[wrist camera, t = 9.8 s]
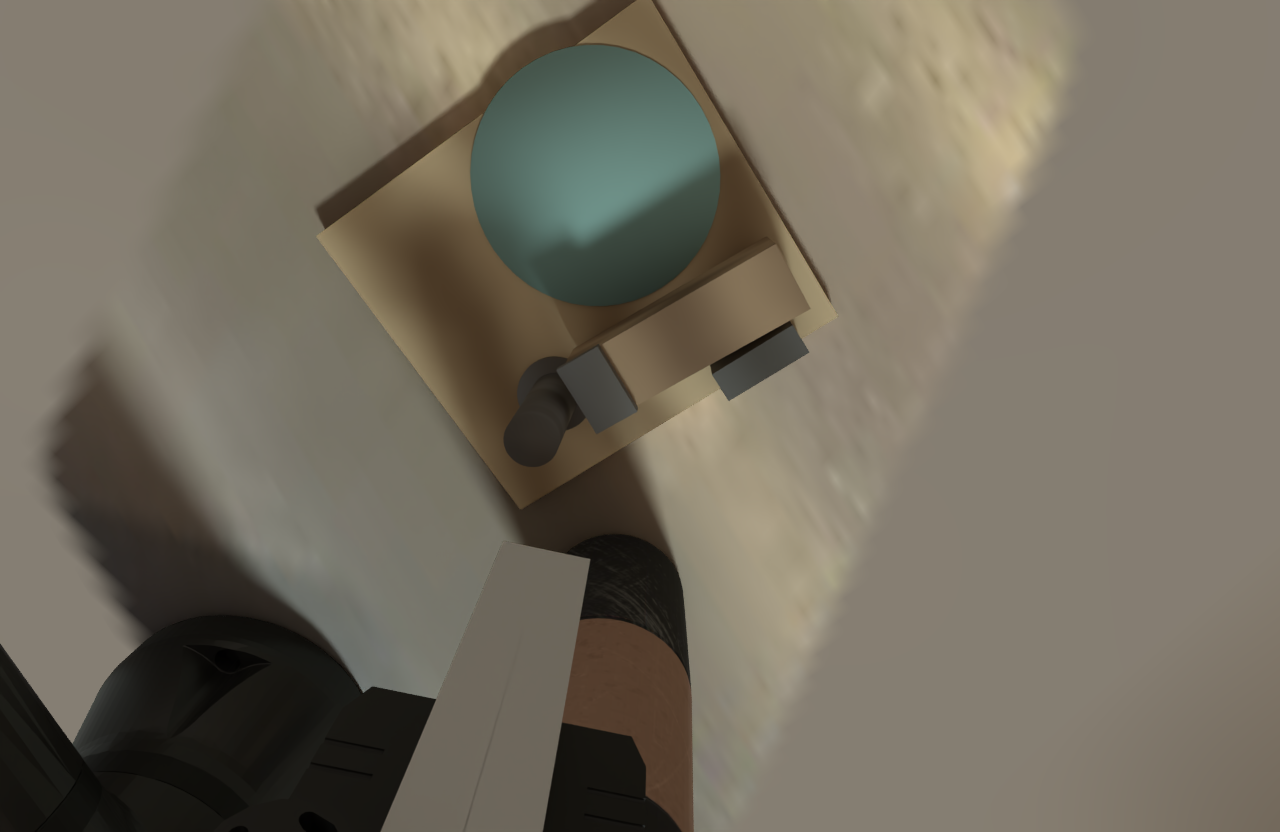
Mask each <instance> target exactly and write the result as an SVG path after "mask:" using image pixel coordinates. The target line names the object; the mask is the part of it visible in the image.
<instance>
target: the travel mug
mask: <svg viewBox="0 0 1280 832" xmlns="http://www.w3.org/2000/svg"><path fill="white" fill-rule="evenodd" d="M567 554H568V555H573V556H578V557H582V558H587V559H590V564H589V569H588V575H587V581H586V587H585V592H584V598H583V604H582V609H581V615H580V621H579V627H578V632H577V638H576V644H575V649H574V655H573V661H572V667H571V672H570V678H569V684H568V689H567V695H566V701H565V707H564V712H563V718H562V722H563V723H568V724H573V725H578V726H583V727H588V728H593V729H598V730H602V731H607V732H612V733H617V734H622V735H627V736H632V738H633V740H634V742H635V744H636V746H637V748H638V751H639V753H640V755H641V757H642V759H643V761H644V763H645V765H646V799H645V828H644V832H694V825H693V759H692V697H691V683H690V670H689V658H688V645H687V632H686V620H685V608H684V598H683V590H682V585H681V581H680V578H679V575H678V573H677V571H676V569H675V567H674V566H673V564H672V563H671V562H670V560H669V559H668V558H667V557H666V556H665V555H664V554H663V553H662V552H661V551H660V550H659V549H657V548H656V547H655V546H653V545H651V544H650V543H648V542H646V541H643V540H641V539H639V538H635V537H632V536H626V535H615V534H612V535H602V536H597V537H594V538H591V539H588V540H586V541H584V542H582V543H580V544H578V545H577V546H575V547H574V548H572V549H571V550H570V551H569V552H568V553H567Z"/></svg>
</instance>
